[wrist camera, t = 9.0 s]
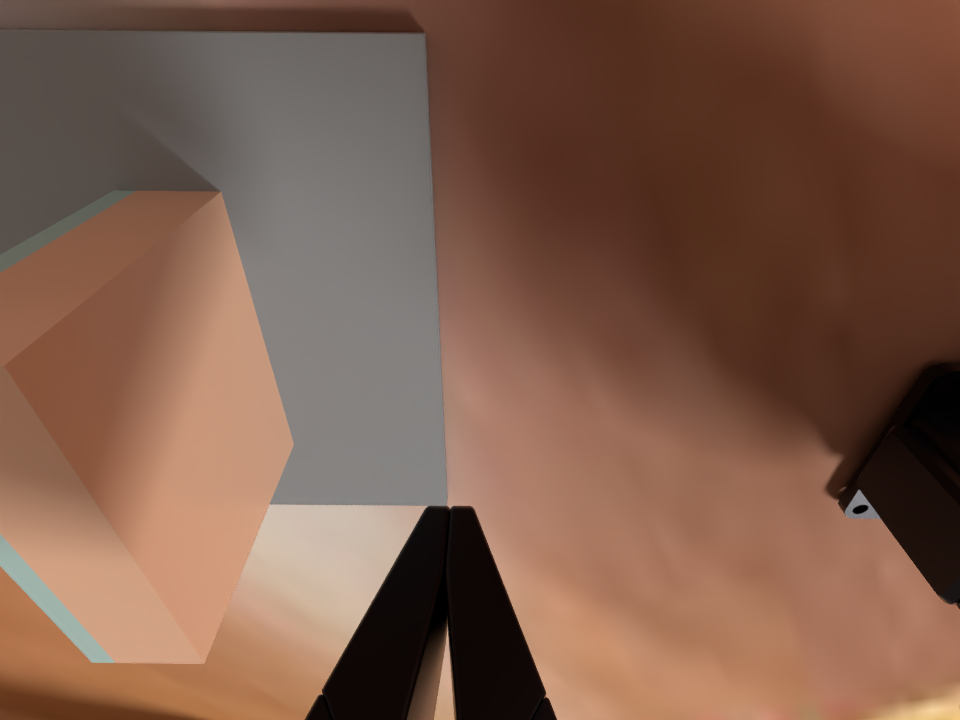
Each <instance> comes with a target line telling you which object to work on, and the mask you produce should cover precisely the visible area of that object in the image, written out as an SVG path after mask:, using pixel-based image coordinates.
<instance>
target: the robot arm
mask: <svg viewBox="0 0 960 720" xmlns="http://www.w3.org/2000/svg"><path fill="white" fill-rule="evenodd" d="M838 504H839V507H840V508H841V510H842V511H843V512H844V514H845V515H846V516H847V517H849V518H857V519H882V521H883V522H884V523H885V525H886V526H887V527H888V529H889V530H890V532H891V533H892V534H893V536H894V537H895V538H896V540H897V541H898V542H899V544H900V545H901V546H902V548H903V549H904V550H905V552H906V553H907V555H908V556H909V557H910V559H911V560H912V561H913V563H914V564H915V565H916V567H917V568H918V569H919V571H920V572H921V573H922V575H923V576H924V577H925V579H926V580H927V582H928V583H929V584H930V586H931V587H932V588H933V590H934V591H935V592H936V594H937V595H938V596H939V597H940V598H941V599H942V600H943V601H944V602H945V603H948V604H956V605H957V606H958V608H959V609H960V363H948V362H946V363H939V364H936V365H934V366H931V367H930V368H928V369H927V370H925V371H924V372H923V373H922V374H921V375H920V376H919V378H918V380H917V381H916V383H915V384H914V386H913V387H912V389H911V390H910V392H909V393H908V395H907V396H906V398H905V400H904V401H903V403H902V404H901V406H900V407H899V409H898V410H897V412H896V413H895V415H894V417H893V418H892V420H891V421H890V423H889V424H888V426H887V427H886V429H885V430H884V432H883V433H882V435H881V437H880V438H879V440H878V441H877V443H876V444H875V446H874V447H873V449H872V450H871V452H870V453H869V455H868V457H867V458H866V460H865V461H864V463H863V464H862V466H861V467H860V469H859V470H858V472H857V473H856V475H855V477H854V478H853V480H852V481H851V483H850V484H849V486H848V487H847V489H846V490H845V492H844V494H843V495H842V497H841V498H840V500H839V502H838ZM447 627H448V635H449V651H450V664H451V678H452V691H453V705H454V718H455V720H557V718H556V716H555V713H554V711H553V708H552V705H551V703H550V700H549V699H548V698H547V697H546V691H545V688H544V686H543V683H542V681H541V678H540V676H539V673H538V670H537V668H536V665H535V663H534V660H533V658H532V655H531V653H530V650H529V647H528V645H527V642H526V640H525V637H524V635H523V632H522V630H521V627H520V625H519V622H518V619H517V617H516V614H515V612H514V609H513V607H512V604H511V602H510V599H509V596H508V594H507V591H506V589H505V586H504V584H503V581H502V579H501V576H500V573H499V571H498V568H497V566H496V563H495V561H494V558H493V556H492V553H491V551H490V548H489V545H488V543H487V540H486V538H485V535H484V533H483V530H482V528H481V525H480V522H479V520H478V517H477V515H476V512H475V510H474V508H473V507H471V506H453V507H451V509H450V508H449V507H448V506H428V507H427V508H426V509H425V510H424V512H423V514H422V515H421V517H420V519H419V521H418V522H417V524H416V526H415V528H414V529H413V531H412V533H411V535H410V536H409V538H408V540H407V542H406V543H405V545H404V547H403V549H402V550H401V552H400V554H399V556H398V557H397V559H396V561H395V563H394V564H393V566H392V568H391V570H390V571H389V573H388V575H387V577H386V578H385V580H384V582H383V584H382V585H381V587H380V589H379V591H378V592H377V594H376V596H375V598H374V599H373V601H372V603H371V605H370V606H369V608H368V610H367V612H366V613H365V615H364V617H363V619H362V620H361V622H360V624H359V626H358V627H357V629H356V631H355V633H354V634H353V636H352V638H351V640H350V641H349V643H348V645H347V647H346V648H345V650H344V652H343V654H342V655H341V657H340V659H339V661H338V662H337V664H336V666H335V668H334V669H333V671H332V673H331V675H330V676H329V678H328V680H327V682H326V683H325V685H324V687H323V689H322V693H323V695H319V696H318V697H317V699H316V700H315V702H314V704H313V706H312V707H311V709H310V711H309V713H308V714H307V716H306V718H305V720H434V715H435V708H436V702H437V695H438V689H439V683H440V676H441V670H442V663H443V657H444V650H445V644H446V636H447Z"/></svg>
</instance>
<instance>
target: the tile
mask: <svg viewBox="0 0 960 720" xmlns="http://www.w3.org/2000/svg"><path fill="white" fill-rule="evenodd" d="M293 446H294V443H293V439H292V436H291V433H290V429H289V426H288V422H287V419H286V415H285V412H284V408H283V405H282V401H281V398H280V394H279V391H278V387H277V384H276V380H275V377H274V374H273V370H272V367H271V363H270V360H269V356H268V353H267V349H266V346H265V342H264V339H263V335H262V332H261V328H260V325H259V321H258V318H257V314H256V311H255V308H254V304H253V301H252V297H251V294H250V290H249V287H248V283H247V280H246V276H245V273H244V269H243V266H242V262H241V259H240V255H239V252H238V249H237V245H236V242H235V238H234V235H233V231H232V228H231V224H230V221H229V217H228V214H227V210H226V207H225V203H224V200H223V196H222V193H221V192H209V191H120V190H114V191H112V192H110V193H109V194H107V195H105V196H103V197H102V198H100V199H98V200H96V201H94V202H93V203H91V204H89V205H87V206H86V207H84V208H82V209H80V210H79V211H77V212H75V213H73V214H72V215H70V216H68V217H66V218H64V219H63V220H61V221H59V222H57V223H56V224H54V225H52V226H50V227H49V228H47V229H45V230H43V231H41V232H40V233H38V234H36V235H34V236H33V237H31V238H29V239H27V240H26V241H24V242H22V243H20V244H18V245H17V246H15V247H13V248H11V249H10V250H8V251H6V252H4V253H3V254H1V255H0V566H1V567H2V568H3V569H4V570H5V571H6V572H7V573H8V575H9V576H10V577H11V578H12V579H13V580H14V581H15V582H16V583H17V584H18V585H19V586H20V587H21V588H22V589H23V590H24V591H25V592H26V593H27V595H28V596H29V597H30V598H31V599H32V600H33V601H34V602H35V603H36V604H37V605H38V606H39V607H40V608H41V609H42V610H43V611H44V612H45V613H46V615H47V616H48V617H49V618H50V619H51V620H52V621H53V622H54V623H55V624H56V625H57V626H58V627H59V628H60V629H61V630H62V631H63V632H64V633H65V634H66V636H67V637H68V638H69V639H70V640H71V641H72V642H73V643H74V644H75V645H76V646H77V647H78V648H79V649H80V650H81V651H82V652H83V653H84V654H85V656H86V657H87V658H88V659H89V660H90V661H91V662H92V663H179V664H204V663H205V661H206V658H207V656H208V653H209V651H210V648H211V646H212V643H213V641H214V639H215V636H216V634H217V631H218V629H219V626H220V624H221V621H222V619H223V617H224V614H225V612H226V609H227V607H228V604H229V602H230V600H231V597H232V595H233V592H234V590H235V587H236V585H237V582H238V580H239V578H240V575H241V573H242V570H243V568H244V565H245V563H246V560H247V558H248V556H249V553H250V551H251V548H252V546H253V543H254V541H255V538H256V536H257V534H258V531H259V529H260V526H261V524H262V521H263V519H264V516H265V514H266V512H267V509H268V507H269V504H270V502H271V499H272V497H273V494H274V492H275V490H276V487H277V485H278V482H279V480H280V477H281V475H282V472H283V470H284V468H285V465H286V463H287V460H288V458H289V455H290V453H291V450H292V448H293Z"/></svg>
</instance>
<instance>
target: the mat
mask: <svg viewBox="0 0 960 720" xmlns="http://www.w3.org/2000/svg"><path fill="white" fill-rule="evenodd" d="M114 190H120V191H209V192H221V193H222V196H223V200H224V203H225V207H226V210H227V214H228V217H229V221H230V224H231V228H232V231H233V235H234V238H235V242H236V245H237V249H238V252H239V255H240V259H241V262H242V266H243V269H244V273H245V276H246V280H247V283H248V287H249V290H250V294H251V297H252V301H253V304H254V308H255V311H256V314H257V318H258V321H259V325H260V328H261V332H262V335H263V339H264V342H265V346H266V349H267V353H268V356H269V360H270V363H271V367H272V370H273V374H274V377H275V380H276V384H277V387H278V391H279V394H280V398H281V401H282V405H283V408H284V412H285V415H286V419H287V422H288V426H289V429H290V433H291V436H292V439H293V443H294V446H293V448H292V450H291V453H290V455H289V458H288V460H287V463H286V465H285V468H284V470H283V472H282V475H281V477H280V480H279V482H278V485H277V487H276V490H275V492H274V494H273V497H272V499H271V502H270V504H290V505H410V506H447V498H448V495H447V474H446V453H445V432H444V411H443V390H442V369H441V348H440V327H439V306H438V285H437V264H436V243H435V222H434V201H433V180H432V159H431V137H430V116H429V95H428V74H427V53H426V33H416V32H290V31H163V30H36V29H0V255H1V254H3V253H4V252H6V251H8V250H10V249H11V248H13V247H15V246H17V245H18V244H20V243H22V242H24V241H26V240H27V239H29V238H31V237H33V236H34V235H36V234H38V233H40V232H41V231H43V230H45V229H47V228H49V227H50V226H52V225H54V224H56V223H57V222H59V221H61V220H63V219H64V218H66V217H68V216H70V215H72V214H73V213H75V212H77V211H79V210H80V209H82V208H84V207H86V206H87V205H89V204H91V203H93V202H94V201H96V200H98V199H100V198H102V197H103V196H105V195H107V194H109V193H110V192H112V191H114Z"/></svg>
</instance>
